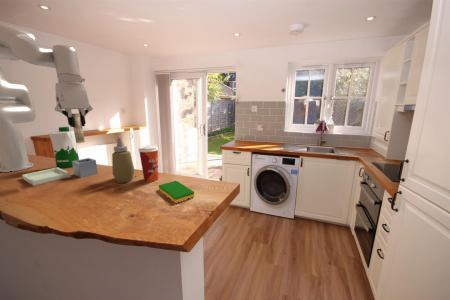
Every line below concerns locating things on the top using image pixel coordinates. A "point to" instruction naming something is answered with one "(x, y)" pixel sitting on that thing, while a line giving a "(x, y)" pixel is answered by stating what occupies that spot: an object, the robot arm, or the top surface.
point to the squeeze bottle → (122, 163)
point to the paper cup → (149, 162)
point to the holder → (84, 167)
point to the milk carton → (64, 147)
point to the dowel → (78, 128)
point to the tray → (46, 176)
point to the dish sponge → (176, 191)
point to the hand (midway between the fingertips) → (77, 125)
